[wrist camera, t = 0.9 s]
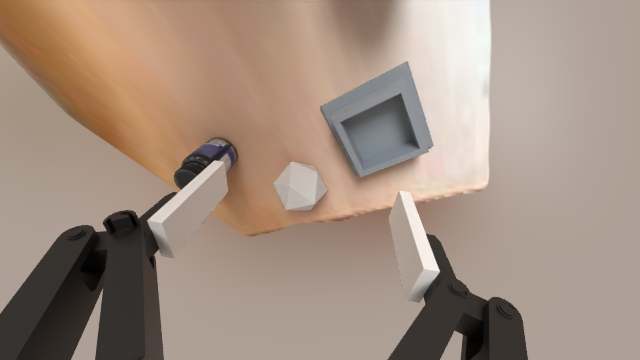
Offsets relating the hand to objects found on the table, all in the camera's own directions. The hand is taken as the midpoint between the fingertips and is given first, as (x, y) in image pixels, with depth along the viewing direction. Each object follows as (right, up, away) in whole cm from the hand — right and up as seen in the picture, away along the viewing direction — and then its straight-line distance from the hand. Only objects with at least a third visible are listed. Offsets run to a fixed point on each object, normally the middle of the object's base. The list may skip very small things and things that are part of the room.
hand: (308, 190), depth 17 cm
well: (+10, +10, +20) cm, 25 cm away
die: (-2, +2, +27) cm, 27 cm away
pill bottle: (-18, +6, +27) cm, 33 cm away
